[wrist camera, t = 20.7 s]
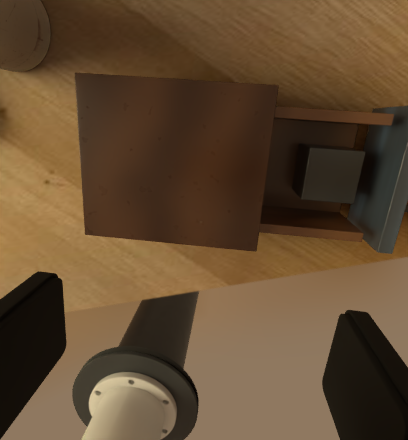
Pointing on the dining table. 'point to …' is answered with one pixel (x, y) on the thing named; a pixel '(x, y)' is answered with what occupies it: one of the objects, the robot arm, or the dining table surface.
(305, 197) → the block
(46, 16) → the thermos bottle
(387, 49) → the dining table surface
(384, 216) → the drawer
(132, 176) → the cabinet
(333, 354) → the robot arm
